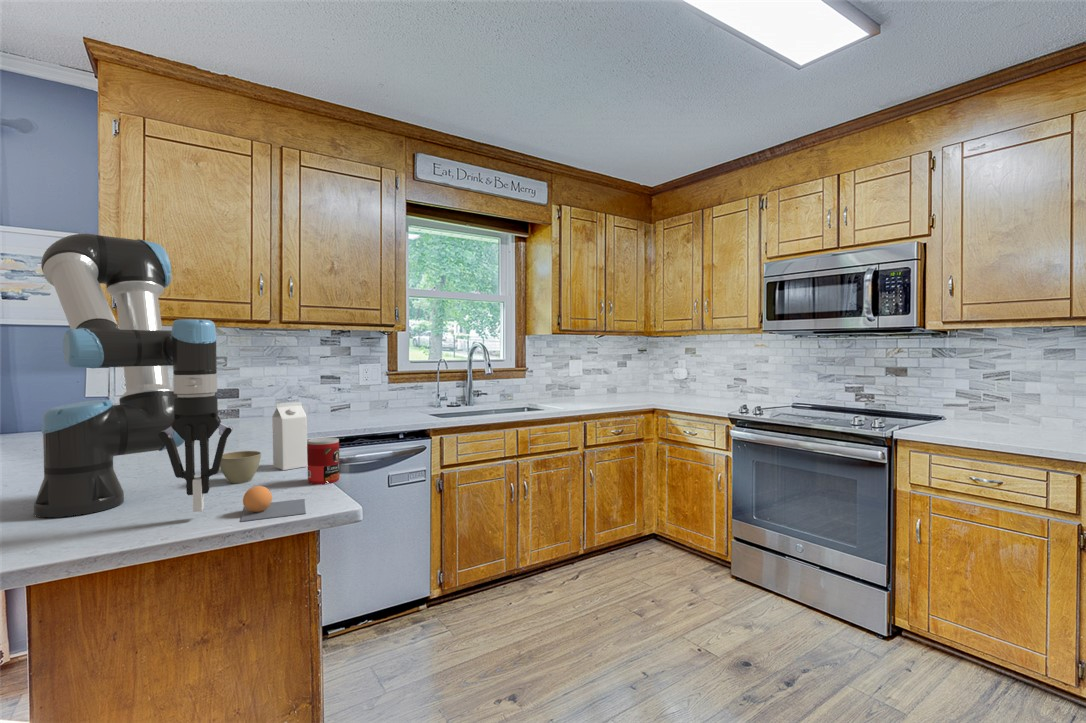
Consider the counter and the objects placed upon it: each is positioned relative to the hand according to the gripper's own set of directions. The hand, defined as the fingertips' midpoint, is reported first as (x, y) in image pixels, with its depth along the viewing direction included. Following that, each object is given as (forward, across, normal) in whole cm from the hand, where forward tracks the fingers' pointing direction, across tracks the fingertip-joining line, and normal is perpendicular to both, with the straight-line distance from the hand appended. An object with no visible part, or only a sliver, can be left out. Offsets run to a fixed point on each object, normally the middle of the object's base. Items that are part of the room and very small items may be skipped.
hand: (198, 509), depth 111 cm
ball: (-1, +11, 0) cm, 11 cm away
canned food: (+2, +25, +23) cm, 34 cm away
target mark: (+2, +14, 0) cm, 14 cm away
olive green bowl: (+2, +5, +33) cm, 33 cm away
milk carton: (+2, +17, +46) cm, 49 cm away
